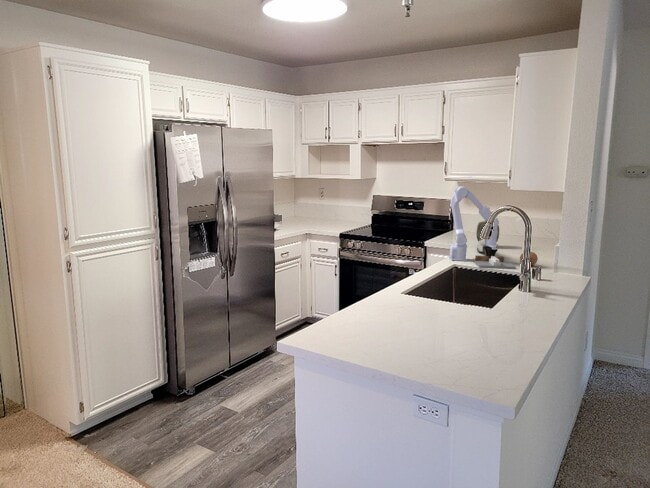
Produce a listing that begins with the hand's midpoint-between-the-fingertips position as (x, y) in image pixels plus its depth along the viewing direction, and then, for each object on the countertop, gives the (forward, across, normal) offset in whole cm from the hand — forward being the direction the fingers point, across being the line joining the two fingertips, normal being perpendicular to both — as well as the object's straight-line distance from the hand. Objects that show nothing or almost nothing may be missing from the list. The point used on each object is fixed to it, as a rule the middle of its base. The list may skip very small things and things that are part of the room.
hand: (489, 259), depth 282 cm
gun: (+2, +19, -2) cm, 19 cm away
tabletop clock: (+2, +52, -11) cm, 53 cm away
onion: (+2, -7, -20) cm, 21 cm away
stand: (+2, -11, 0) cm, 12 cm away
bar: (+2, 0, 0) cm, 2 cm away
